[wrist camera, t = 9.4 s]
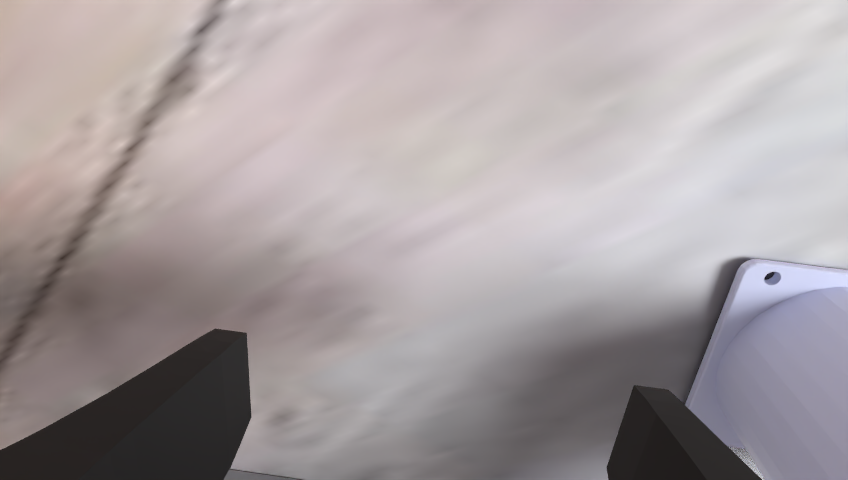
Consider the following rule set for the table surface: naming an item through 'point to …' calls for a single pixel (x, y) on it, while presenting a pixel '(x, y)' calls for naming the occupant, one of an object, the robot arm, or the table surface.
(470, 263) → the table surface
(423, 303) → the table surface
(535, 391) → the table surface
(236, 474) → the dish rack
